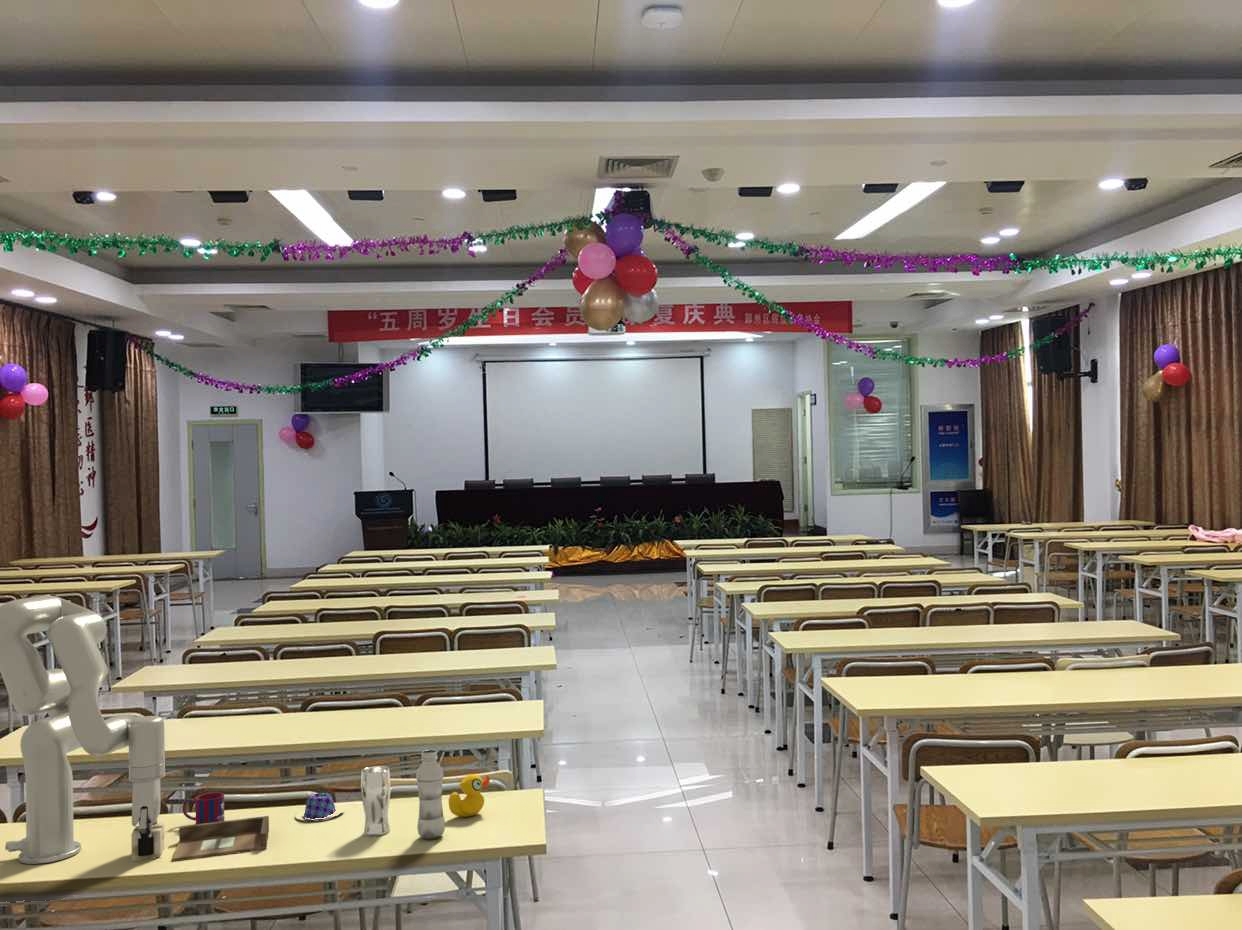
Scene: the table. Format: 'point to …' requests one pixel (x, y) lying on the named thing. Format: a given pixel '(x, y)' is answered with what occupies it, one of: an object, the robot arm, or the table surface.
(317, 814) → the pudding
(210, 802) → the mug
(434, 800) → the plastic bottle
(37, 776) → the robot arm
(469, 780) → the duckling
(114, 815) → the table surface
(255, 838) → the wooden tray
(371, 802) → the beer glass
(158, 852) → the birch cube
